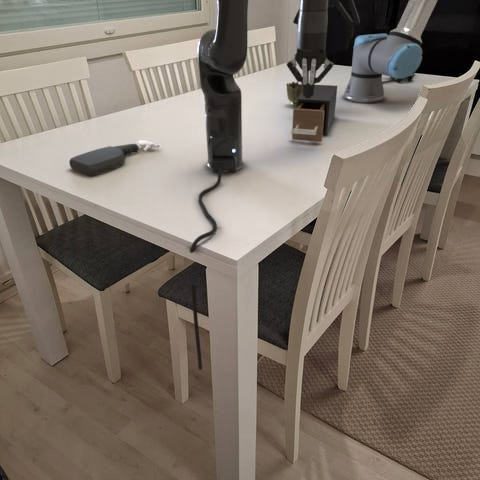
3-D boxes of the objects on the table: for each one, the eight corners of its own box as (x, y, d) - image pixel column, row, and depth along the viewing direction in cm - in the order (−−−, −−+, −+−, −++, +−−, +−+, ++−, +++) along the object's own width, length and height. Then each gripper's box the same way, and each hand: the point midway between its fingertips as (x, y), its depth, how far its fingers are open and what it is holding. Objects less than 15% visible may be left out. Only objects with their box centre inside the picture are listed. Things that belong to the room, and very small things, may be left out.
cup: (282, 107, 166) (283, 85, 162) (290, 102, 172) (290, 80, 168) (301, 109, 163) (302, 87, 159) (308, 104, 169) (309, 82, 165)
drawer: (318, 148, 127) (321, 117, 123) (288, 145, 130) (289, 115, 125) (329, 123, 147) (331, 95, 142) (302, 121, 149) (304, 93, 144)
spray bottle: (67, 168, 120) (139, 144, 136) (91, 178, 114) (163, 151, 130) (65, 157, 118) (137, 134, 134) (89, 167, 112) (162, 142, 128)
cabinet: (326, 135, 139) (329, 100, 133) (294, 133, 141) (296, 98, 136) (334, 117, 155) (337, 85, 149) (305, 115, 157) (307, 84, 152)
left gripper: (339, 28, 116) (333, 95, 126) (290, 27, 120) (287, 93, 129) (336, 32, 110) (330, 102, 120) (284, 31, 114) (281, 99, 123)
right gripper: (374, -30, 130) (365, 48, 142) (290, -29, 137) (288, 45, 148) (373, -30, 124) (363, 52, 136) (285, -29, 131) (283, 49, 142)
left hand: (307, 97), depth 124 cm, fingers closed
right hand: (324, 48), depth 142 cm, fingers open, 13 cm apart
